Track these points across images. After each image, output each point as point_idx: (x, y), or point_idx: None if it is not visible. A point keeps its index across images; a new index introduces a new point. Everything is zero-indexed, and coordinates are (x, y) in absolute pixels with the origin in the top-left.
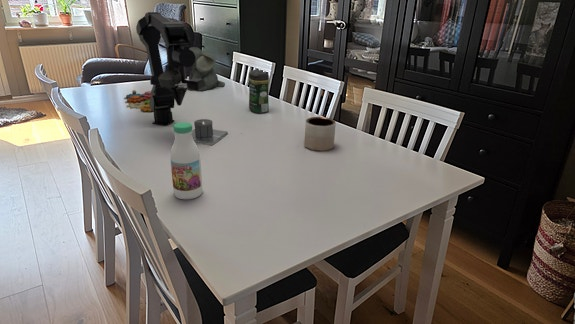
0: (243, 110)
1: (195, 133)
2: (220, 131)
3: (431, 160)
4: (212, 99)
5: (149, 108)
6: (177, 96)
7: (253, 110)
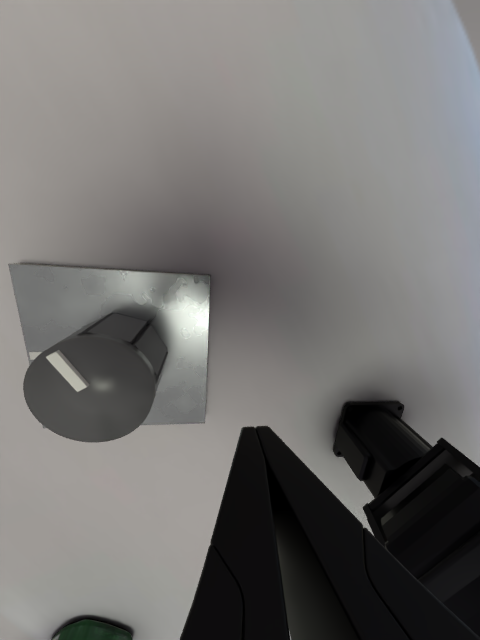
0: (148, 617)
1: (147, 329)
2: None
3: None
4: None
5: None
6: (301, 566)
7: (94, 631)
